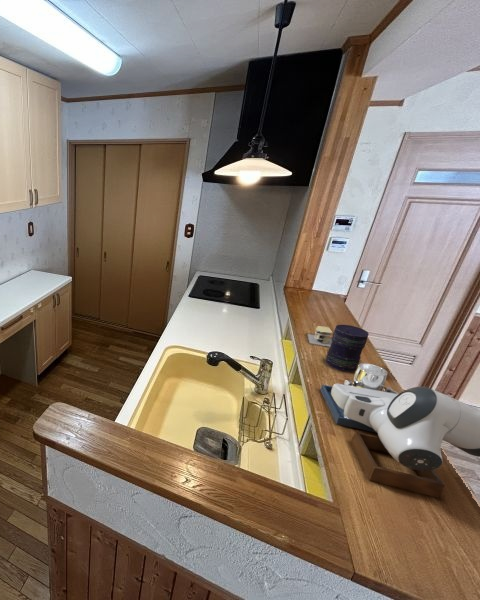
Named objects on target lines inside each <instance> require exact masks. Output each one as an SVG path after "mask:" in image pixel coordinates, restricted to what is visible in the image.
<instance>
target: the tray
mask: <svg viewBox="0 0 480 600" xmlns="http://www.w3.org/2000/svg"><path fill="white" fill-rule="evenodd" d="M332 387H333V385H332V386H331V385H328V384H327V385H326V384H321V387H320V393H321V395H322V397H323V399H324V401H325V404H326V406H327V407H328V410H329V412H330V414H331V416H332V417H333V420H334V422H335V424H336V425H339V426H343V427H349V428H353V429H359V430H363V431H366V432H367V431H368V432H371V433H377V432H376V431H375V430H374V429H373V428H371V427H369V426H367V425H365V424H363V423H360V422H358V421H355V420H352V419H350V418H347V417H346V416H345V415H344V410H343V409H341V408H340V407H339V406H338V405H337V404H336V402H335V401H334V399H333V397H332V395H331V390H332ZM377 434H378V433H377Z"/></svg>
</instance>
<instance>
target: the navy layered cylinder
mask: <svg viewBox="0 0 480 600" xmlns="http://www.w3.org/2000/svg"><path fill="white" fill-rule="evenodd" d="M368 338H369V332H368V331H367V330H365V329H363V328H361V327H358V326H356V325H355V326H354V325H350V324H337V325H335V327H334V331H333V332H332V337H331V339H332V343H331V346H330V347H328V350H327V353H326V357H325V361H324V362H325V364H326V365H327V366H329V367H330V368H332V369H334V370H337V371H341V372H345V373H355V371H356V369H357V367H358V365H359V364H360V363H361V362H360V361H361V358H362V357H361V355H362V352H363V349H364V348H365V347H366V344H367V340H368Z"/></svg>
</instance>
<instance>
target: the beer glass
mask: <svg viewBox="0 0 480 600" xmlns="http://www.w3.org/2000/svg"><path fill="white" fill-rule="evenodd" d="M387 376H388V371H387V370H386V369H385V368H383V367H381V366H379V365H377V364H372V363H367V362H359V364H358V366H357V369H356V371H354V372H353V376H352V380H351V381H352V382H353V385H352V386H354V387H360V388H366V389H371V390H377V391H383V389H384V387H385V384H386V381H387Z"/></svg>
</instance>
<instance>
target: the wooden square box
mask: <svg viewBox="0 0 480 600" xmlns="http://www.w3.org/2000/svg"><path fill="white" fill-rule="evenodd" d="M350 444H351V446H352V449H353V450H354V452H355V454H356V456H357V458H358V460H359V462H360V464H361V466H362V468H363V470H364V472H365V474H366V476H367V479H368V480H369V481H371V482H375V483H380V484H383V485H387V486H390V487H395V488H399V489H403V490H406V491H411V492H415V493H418V494H422V495H426V496H429V497H434V498H439V497H440V496H441V494H442V492H443V490H444V488H445V486H446V484H445V483H444V482H443V480H442V478H440V476H439V475H438V473H437V472H436V471H435V470H430V471H420V470H415V472H416V473H417V474H418V475H415V474H411V473H407V472H402V471H399V470H396V469H395V470H394V469H390V468H387V467H382V466H378V465H377V463H376V461H375V459H374V458H373V456H372V454H371V452H370V450H373V451H378V452H383V453H387V454H390V453H389V452H388V451H387V449H386V448H385V446H384V445H383V443H382V442H381V440H380V438H379V436H378V435H374V434H369V433H366V432H365V433H364V432H360V431H354V433H353V436H352V438H351V440H350Z"/></svg>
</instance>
